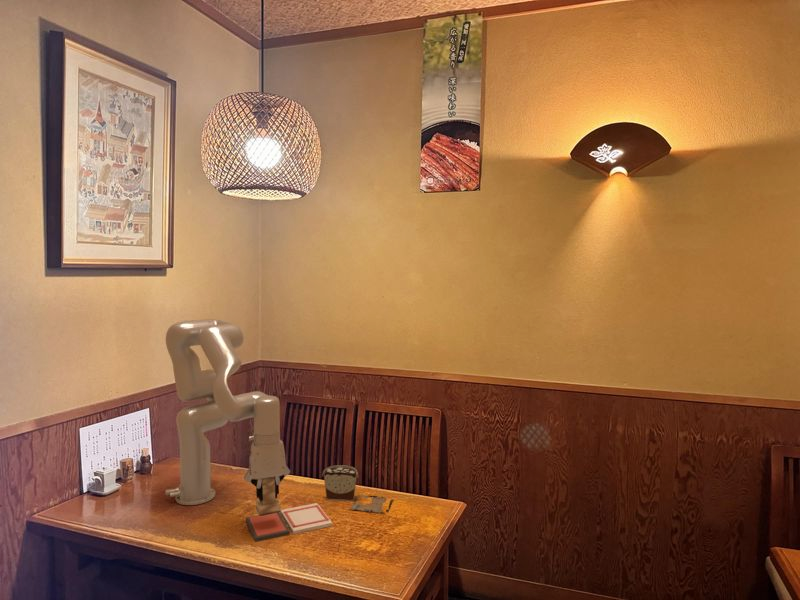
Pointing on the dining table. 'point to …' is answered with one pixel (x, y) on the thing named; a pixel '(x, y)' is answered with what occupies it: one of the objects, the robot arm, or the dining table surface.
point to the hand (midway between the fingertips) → (267, 497)
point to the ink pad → (267, 526)
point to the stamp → (268, 498)
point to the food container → (340, 482)
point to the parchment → (373, 506)
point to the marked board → (306, 518)
